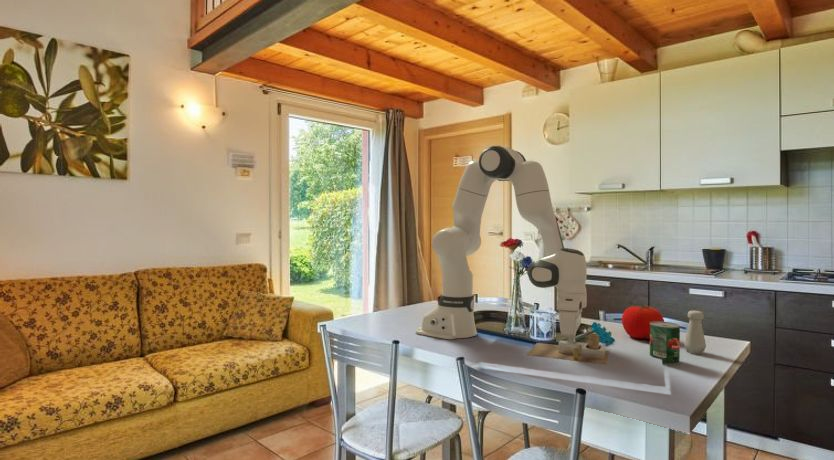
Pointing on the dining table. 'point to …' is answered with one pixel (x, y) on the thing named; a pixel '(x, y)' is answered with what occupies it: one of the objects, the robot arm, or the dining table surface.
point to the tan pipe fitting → (582, 349)
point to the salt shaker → (695, 333)
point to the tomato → (640, 320)
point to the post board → (552, 352)
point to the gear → (602, 333)
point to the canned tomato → (665, 342)
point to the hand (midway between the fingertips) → (571, 344)
